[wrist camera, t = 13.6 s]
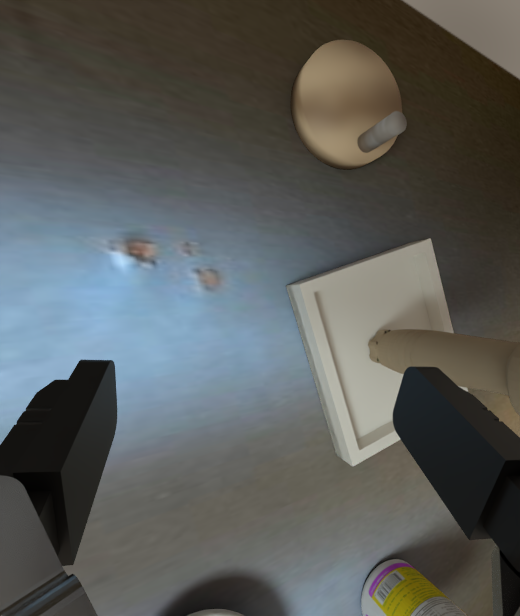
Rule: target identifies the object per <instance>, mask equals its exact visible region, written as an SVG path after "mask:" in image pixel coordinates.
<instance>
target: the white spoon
mask: <svg viewBox="0 0 520 616" xmlns="http://www.w3.org/2000/svg"><path fill="white" fill-rule="evenodd" d="M187 616H244V615H242V614H240V613H237V612H234V611H231V610H226V609H207V610H202V611H198V612H195V613H192V614H190V615H187Z"/></svg>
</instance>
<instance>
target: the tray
mask: <svg viewBox="0 0 520 616" xmlns="http://www.w3.org/2000/svg"><path fill="white" fill-rule="evenodd" d="M286 288H287V291H288V294H289V298H290V301H291V304H292V308H293V311H294V314H295V318H296V321H297V324H298V328H299V331H300V334H301V338H302V341H303V344H304V348H305V351H306V354H307V358H308V361H309V364H310V368H311V371H312V374H313V378H314V381H315V384H316V388H317V391H318V395H319V398H320V401H321V405H322V408H323V411H324V415H325V418H326V421H327V425H328V428H329V431H330V435H331V438H332V441H333V445H334V448H335V451H336V455H337V456H339V457H340V458H341V459H343V460H344V461H346V462H347V463H349V464H350V465H351V466H355V465H357V464H358V463H360V462H362V461H364V460H365V459H367V458H369V457H371V456H372V455H374V454H376V453H378V452H379V451H381V450H383V449H385V448H386V447H388V446H390V445H392V444H393V443H395V442H397V441H399V440H400V437H399V436H398V434H397V433H396V431H395V428H394V425H393V409H394V406H395V402H396V399H397V395H398V392H399V388H400V385H401V382H402V378H403V375H404V374H401V373H398V372H396V371H393V370H391V369H389V368H387V367H385V366H383V365H381V364H380V363H376V362H373V361H372V360H371V359H370V357H369V355H370V350H369V347H368V343H369V341H371V340H372V339H373V338H374V337H375V335H376V333H377V332H378V331H380V330H391V331H393V330H401V329H420V330H434V331H442V332H449V333H454V332H453V328H452V324H451V320H450V315H449V311H448V307H447V303H446V299H445V295H444V291H443V287H442V283H441V279H440V274H439V270H438V266H437V262H436V258H435V254H434V250H433V246H432V242H431V238H430V239H425V240H420V241H415V242H411V243H408V244H405V245H402V246H399V247H396V248H393V249H390V250H387V251H385V252H382V253H379V254H376V255H373V256H370V257H367V258H364V259H362V260H359V261H356V262H353V263H350V264H347V265H344V266H341V267H338V268H336V269H333V270H330V271H327V272H324V273H321V274H318V275H315V276H312V277H310V278H307V279H304V280H301V281H298V282H295V283H292V284H289V285H287V286H286ZM458 387H460V386H458ZM460 388H462V389H463V390H465V391H467V392H468V389H467V388H466V387H460Z"/></svg>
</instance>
